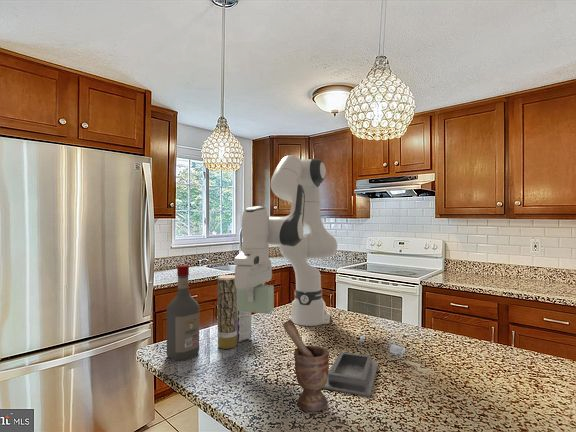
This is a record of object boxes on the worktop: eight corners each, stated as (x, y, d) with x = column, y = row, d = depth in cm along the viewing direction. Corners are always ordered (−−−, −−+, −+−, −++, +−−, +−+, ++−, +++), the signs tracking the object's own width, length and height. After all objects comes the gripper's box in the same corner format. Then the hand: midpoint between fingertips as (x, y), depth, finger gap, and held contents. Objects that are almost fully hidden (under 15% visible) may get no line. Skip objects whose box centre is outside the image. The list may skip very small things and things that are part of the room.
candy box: (223, 332, 137) (223, 291, 138) (236, 329, 141) (236, 289, 141) (237, 342, 126) (237, 298, 126) (252, 339, 129) (252, 296, 129)
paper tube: (232, 350, 118) (232, 278, 118) (214, 349, 120) (214, 278, 120) (239, 343, 125) (239, 275, 125) (222, 342, 126) (222, 274, 127)
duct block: (243, 307, 114) (243, 283, 114) (273, 310, 110) (273, 285, 110) (237, 310, 110) (236, 285, 110) (268, 313, 106) (268, 288, 106)
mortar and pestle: (280, 412, 80) (280, 327, 81) (284, 393, 89) (283, 317, 89) (329, 414, 79) (329, 329, 80) (328, 395, 88) (328, 318, 88)
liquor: (202, 354, 115) (202, 265, 115) (178, 363, 108) (178, 268, 108) (186, 347, 121) (186, 263, 121) (163, 355, 114) (163, 266, 114)
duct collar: (336, 359, 111) (336, 349, 111) (378, 365, 106) (377, 354, 106) (321, 388, 92) (321, 376, 92) (370, 396, 87) (370, 383, 87)
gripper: (259, 252, 121) (260, 291, 121) (230, 259, 102) (231, 306, 102) (276, 253, 119) (276, 293, 119) (249, 260, 99) (250, 308, 99)
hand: (255, 299), depth 110 cm, fingers closed on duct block, 4 cm apart
